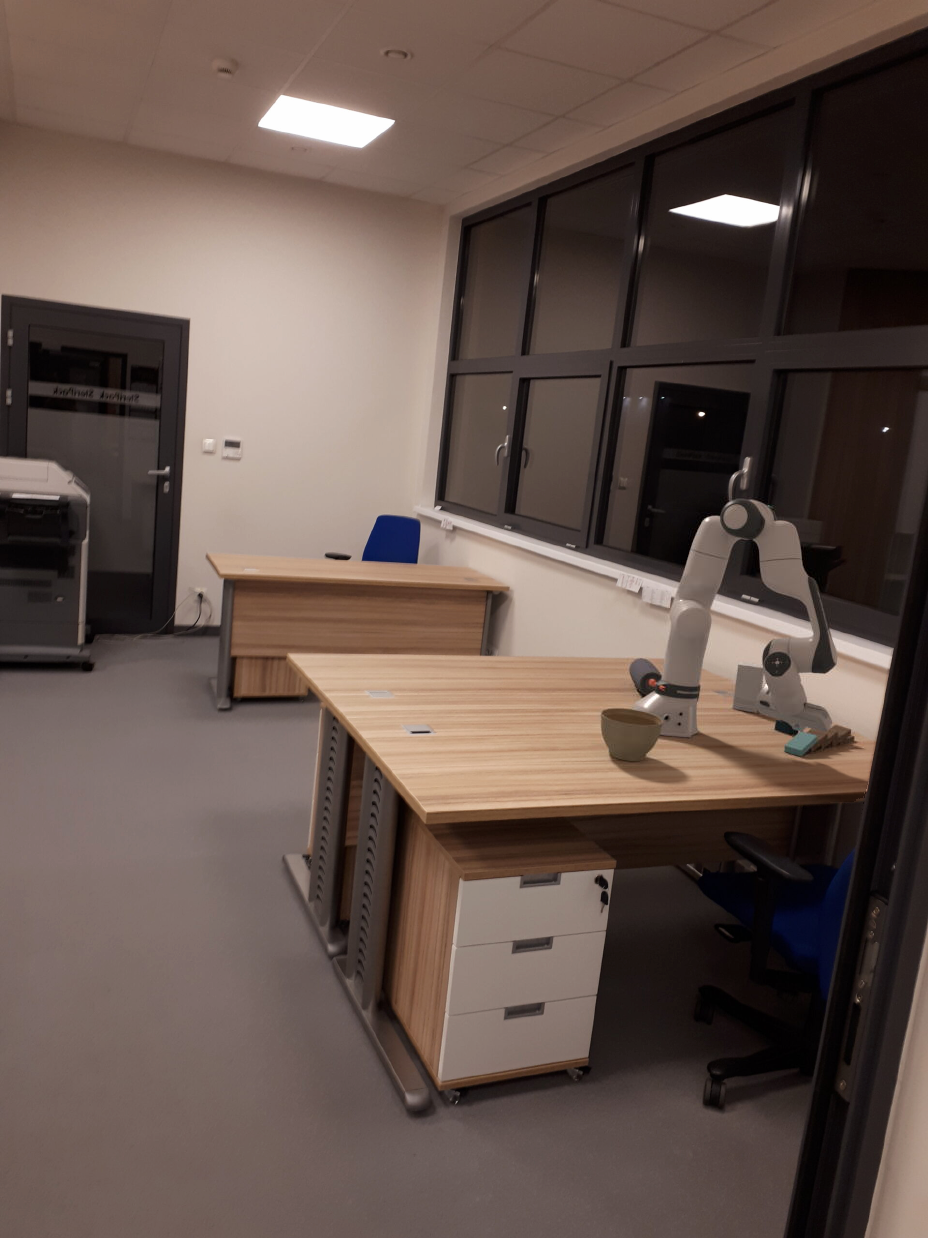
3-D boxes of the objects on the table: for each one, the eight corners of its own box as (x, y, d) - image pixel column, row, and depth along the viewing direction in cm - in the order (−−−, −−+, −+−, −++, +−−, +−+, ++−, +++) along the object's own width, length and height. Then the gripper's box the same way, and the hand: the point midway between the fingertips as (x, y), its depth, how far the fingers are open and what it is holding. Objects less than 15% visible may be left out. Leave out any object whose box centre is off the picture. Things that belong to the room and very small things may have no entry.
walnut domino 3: (832, 741, 280) (851, 729, 286) (817, 736, 284) (835, 724, 290) (832, 747, 281) (850, 735, 287) (817, 742, 285) (835, 730, 290)
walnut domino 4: (840, 740, 284) (854, 736, 291) (824, 735, 288) (839, 731, 295) (839, 746, 285) (853, 742, 292) (823, 741, 288) (837, 737, 295)
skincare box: (759, 710, 318) (766, 665, 316) (756, 714, 312) (764, 668, 310) (733, 705, 322) (741, 660, 319) (730, 708, 316) (738, 663, 313)
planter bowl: (614, 743, 260) (620, 704, 258) (668, 759, 250) (674, 719, 248) (583, 752, 247) (589, 712, 246) (638, 770, 238) (644, 728, 236)
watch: (802, 733, 293) (808, 699, 291) (785, 735, 289) (791, 700, 287) (787, 728, 298) (793, 694, 296) (770, 730, 293) (776, 695, 291)
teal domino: (801, 750, 266) (817, 735, 273) (784, 745, 270) (800, 731, 276) (801, 756, 267) (817, 741, 273) (784, 751, 270) (800, 737, 277)
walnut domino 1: (811, 747, 271) (827, 733, 277) (794, 742, 274) (811, 728, 281) (811, 753, 272) (827, 739, 278) (794, 748, 275) (811, 734, 281)
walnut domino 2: (821, 744, 275) (837, 731, 282) (805, 739, 279) (821, 726, 285) (821, 750, 276) (837, 736, 282) (805, 745, 280) (821, 732, 286)
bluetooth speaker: (663, 701, 316) (668, 672, 314) (635, 698, 316) (640, 669, 314) (651, 685, 338) (655, 658, 337) (625, 682, 338) (629, 655, 337)
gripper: (831, 699, 254) (839, 730, 262) (760, 681, 267) (771, 711, 276) (821, 717, 251) (830, 748, 260) (750, 698, 265) (761, 727, 274)
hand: (799, 728), depth 268 cm, fingers closed
